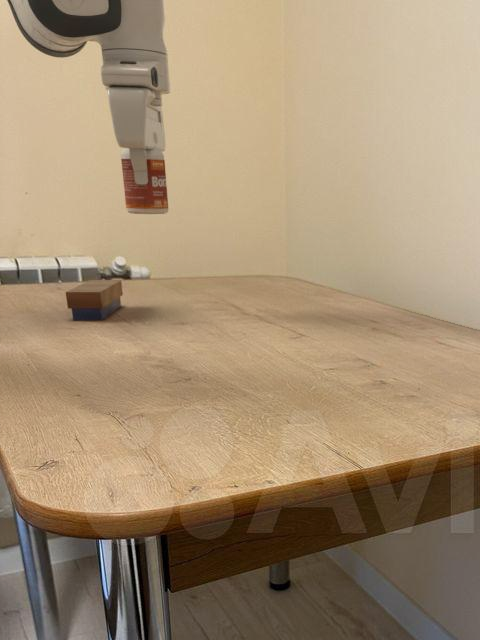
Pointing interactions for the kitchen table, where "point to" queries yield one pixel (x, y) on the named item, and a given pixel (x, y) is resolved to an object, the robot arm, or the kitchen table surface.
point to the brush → (94, 299)
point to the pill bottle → (151, 194)
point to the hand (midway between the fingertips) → (147, 184)
